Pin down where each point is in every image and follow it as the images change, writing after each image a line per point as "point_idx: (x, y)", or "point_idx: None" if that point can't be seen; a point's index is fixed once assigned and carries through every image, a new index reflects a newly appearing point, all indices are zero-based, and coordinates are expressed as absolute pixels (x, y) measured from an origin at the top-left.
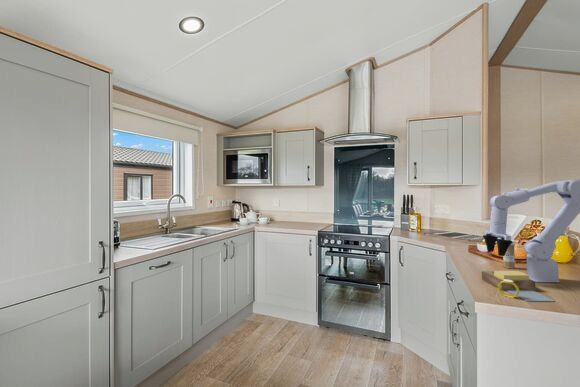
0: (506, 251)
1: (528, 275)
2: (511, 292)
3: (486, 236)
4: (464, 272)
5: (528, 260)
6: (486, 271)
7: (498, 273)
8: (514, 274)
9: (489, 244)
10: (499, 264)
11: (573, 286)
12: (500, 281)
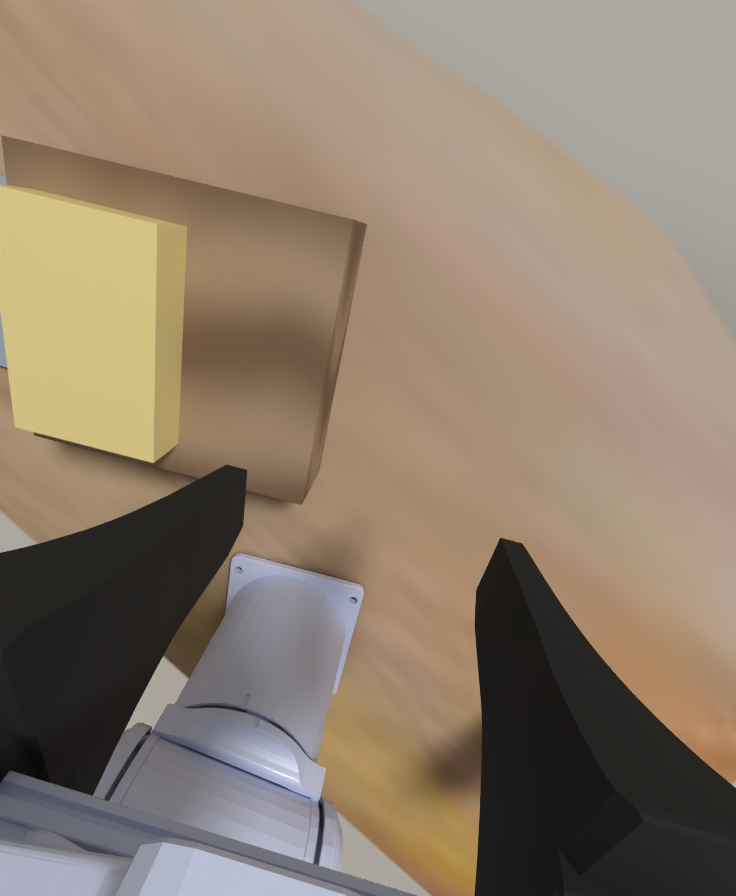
0: None
1: (15, 422)
2: (5, 178)
3: (599, 818)
4: (634, 235)
5: (254, 693)
6: (342, 277)
7: (81, 204)
8: (28, 325)
9: (516, 648)
10: (679, 710)
11: (165, 654)
12: (24, 141)
